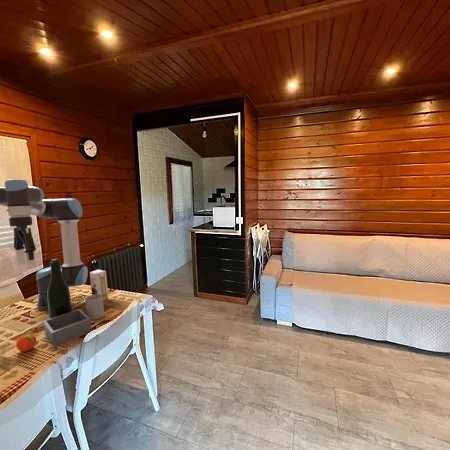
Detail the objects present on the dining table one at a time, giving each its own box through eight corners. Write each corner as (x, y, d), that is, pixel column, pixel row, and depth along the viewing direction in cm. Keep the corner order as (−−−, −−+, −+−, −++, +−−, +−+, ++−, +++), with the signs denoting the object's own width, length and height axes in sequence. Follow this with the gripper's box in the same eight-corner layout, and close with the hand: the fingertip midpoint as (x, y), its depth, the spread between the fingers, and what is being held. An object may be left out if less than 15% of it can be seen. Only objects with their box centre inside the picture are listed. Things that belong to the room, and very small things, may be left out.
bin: (45, 333, 122) (43, 321, 122) (81, 320, 134) (79, 308, 133) (53, 346, 111) (51, 332, 111) (91, 331, 123) (90, 318, 122)
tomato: (43, 346, 112) (40, 331, 111) (27, 356, 105) (25, 340, 105) (29, 344, 114) (27, 329, 113) (13, 353, 108) (10, 338, 107)
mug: (102, 318, 135) (100, 299, 133) (85, 321, 133) (82, 301, 131) (107, 308, 146) (105, 290, 145) (91, 311, 144) (88, 292, 143)
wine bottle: (45, 325, 128) (38, 262, 126) (55, 317, 139) (49, 258, 137) (67, 322, 130) (60, 259, 128) (76, 314, 140) (69, 256, 138)
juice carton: (102, 296, 164) (99, 268, 161) (110, 299, 159) (107, 270, 157) (91, 301, 157) (87, 272, 155) (99, 304, 153) (96, 274, 150)
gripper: (1, 217, 111) (7, 264, 113) (18, 217, 96) (24, 271, 97) (22, 216, 117) (27, 261, 118) (41, 215, 102) (47, 267, 103)
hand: (26, 265), depth 108 cm, fingers open, 13 cm apart
